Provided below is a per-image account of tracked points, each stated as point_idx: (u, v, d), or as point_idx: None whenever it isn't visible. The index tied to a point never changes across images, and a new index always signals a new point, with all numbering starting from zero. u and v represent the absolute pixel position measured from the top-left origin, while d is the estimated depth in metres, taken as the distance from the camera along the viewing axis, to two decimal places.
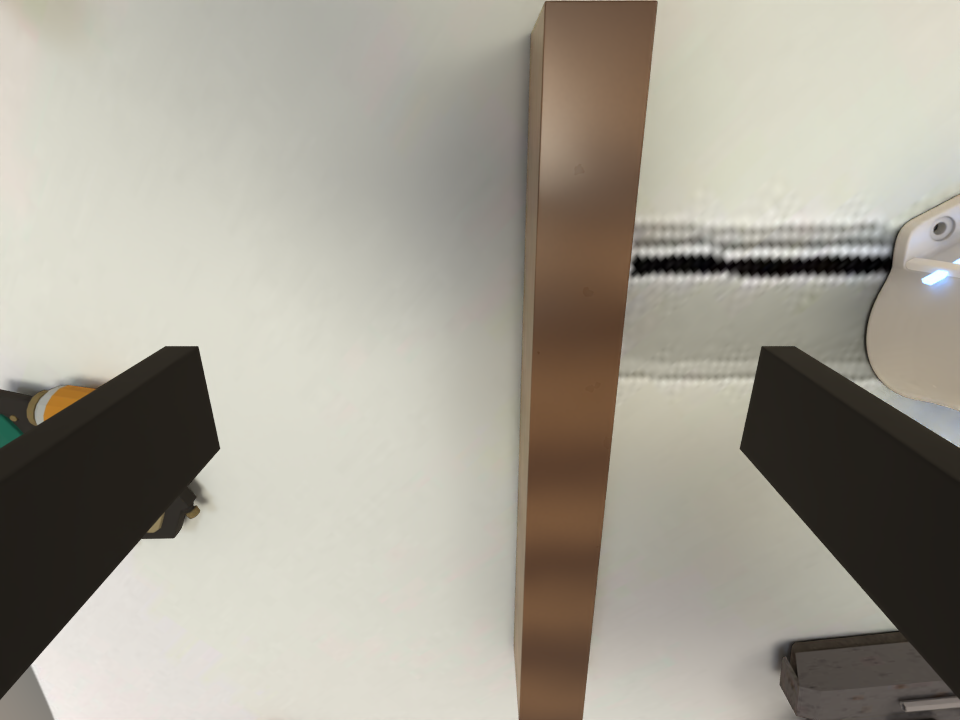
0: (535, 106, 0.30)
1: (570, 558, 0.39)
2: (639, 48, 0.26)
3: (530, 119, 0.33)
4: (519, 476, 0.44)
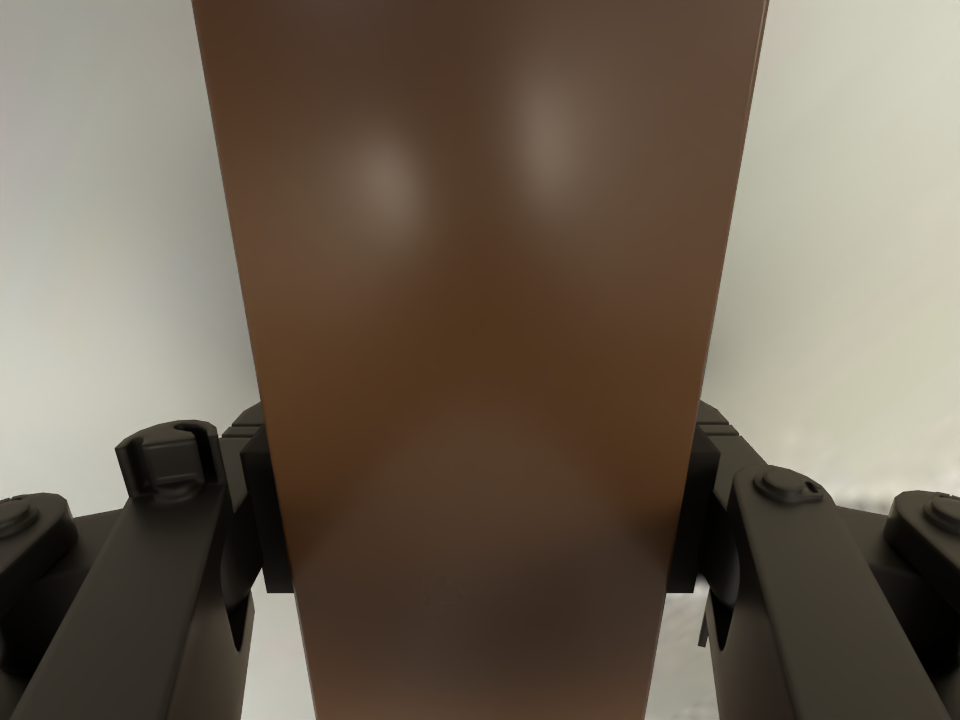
0: None
1: None
2: (675, 177, 0.06)
3: None
4: None
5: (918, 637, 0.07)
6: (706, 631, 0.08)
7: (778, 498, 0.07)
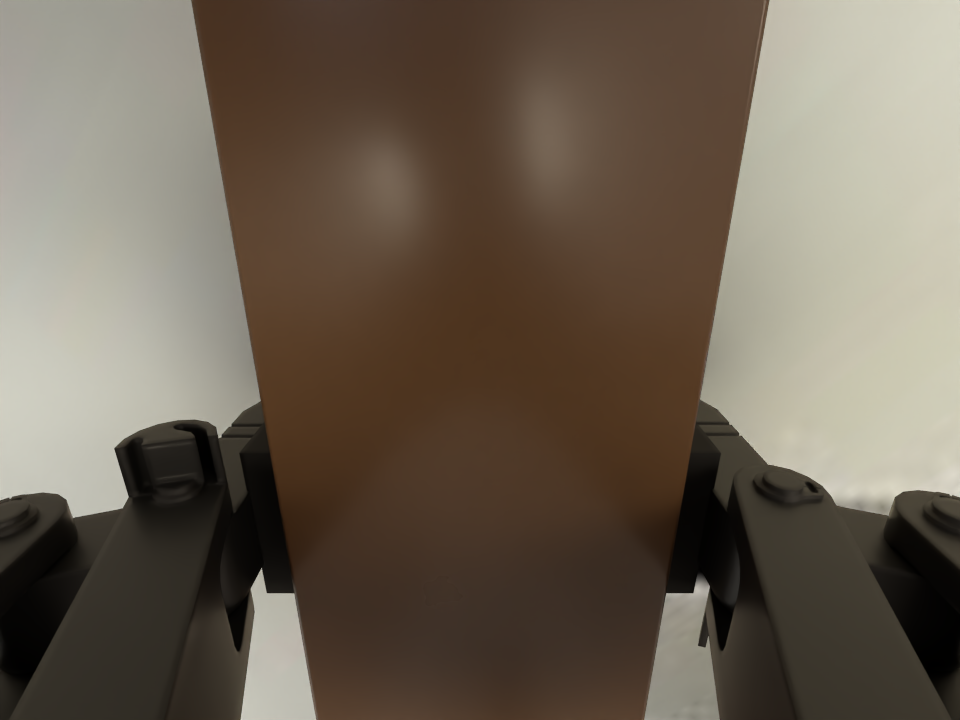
0: None
1: None
2: (675, 177, 0.06)
3: None
4: None
5: (918, 637, 0.07)
6: (706, 631, 0.08)
7: (778, 498, 0.07)
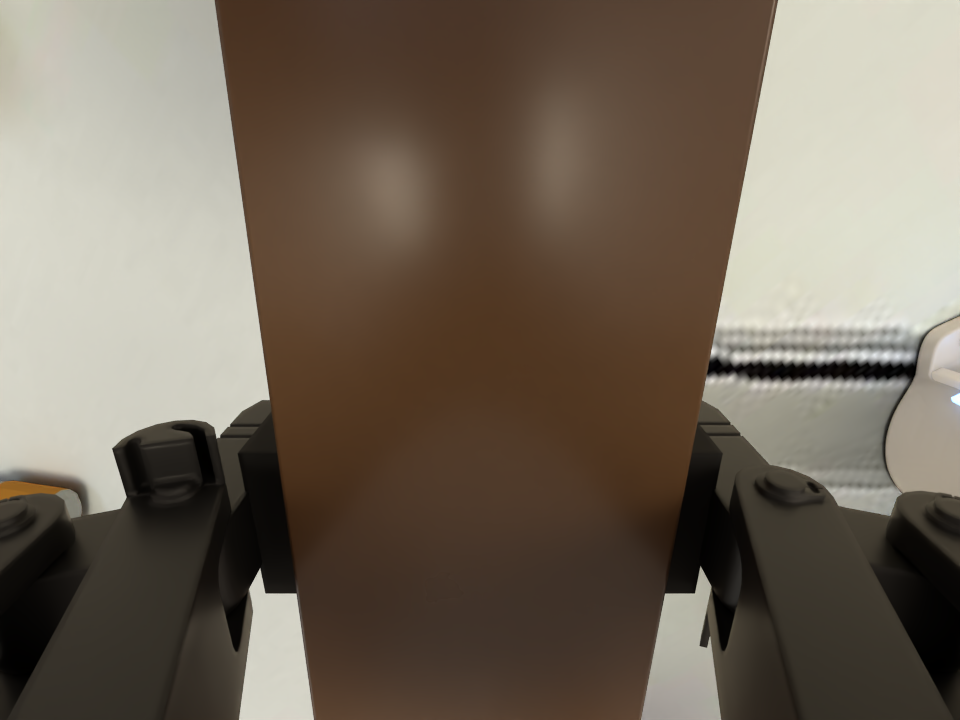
0: None
1: None
2: (681, 181, 0.06)
3: None
4: None
5: (920, 638, 0.07)
6: (708, 631, 0.08)
7: (779, 497, 0.07)
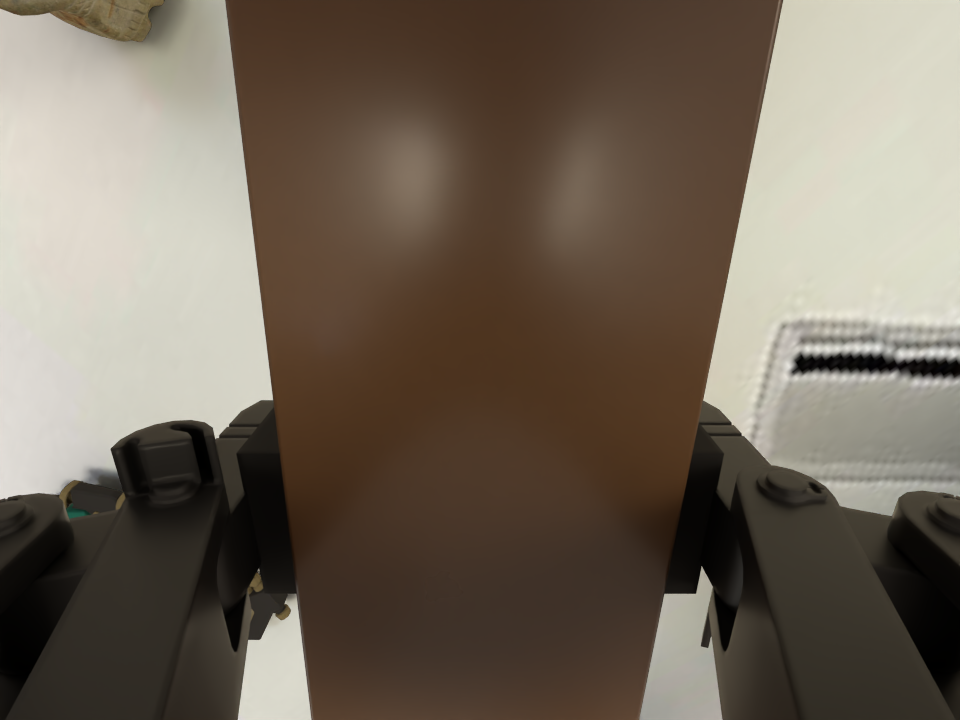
0: None
1: None
2: (685, 183, 0.06)
3: None
4: None
5: (922, 638, 0.06)
6: (709, 632, 0.08)
7: (781, 498, 0.07)
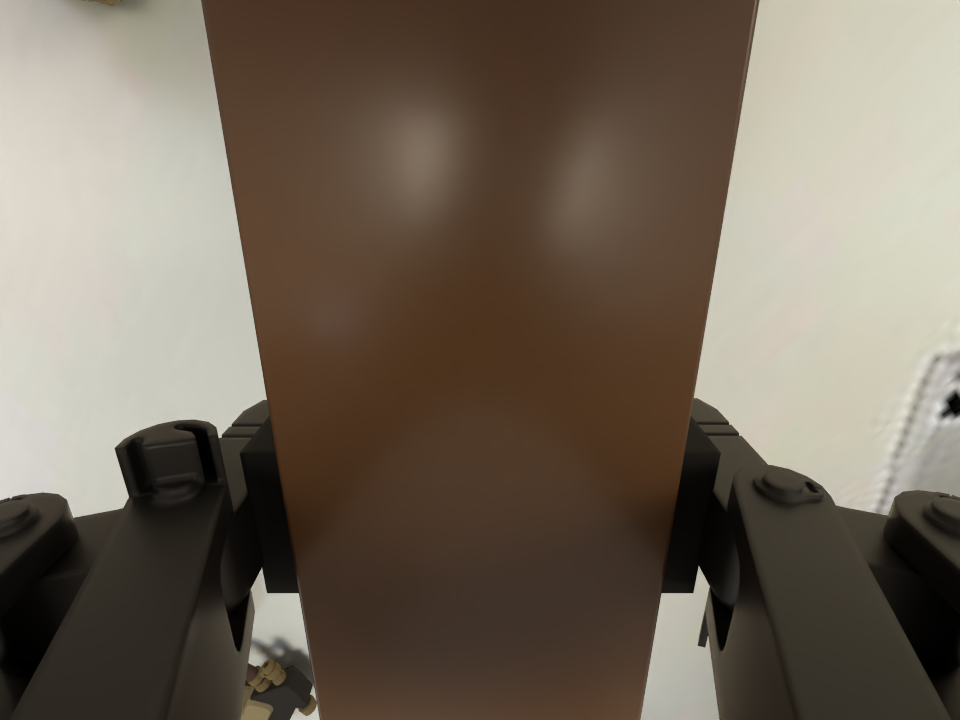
0: None
1: None
2: (668, 181, 0.06)
3: None
4: None
5: (918, 637, 0.07)
6: (706, 631, 0.08)
7: (777, 498, 0.07)
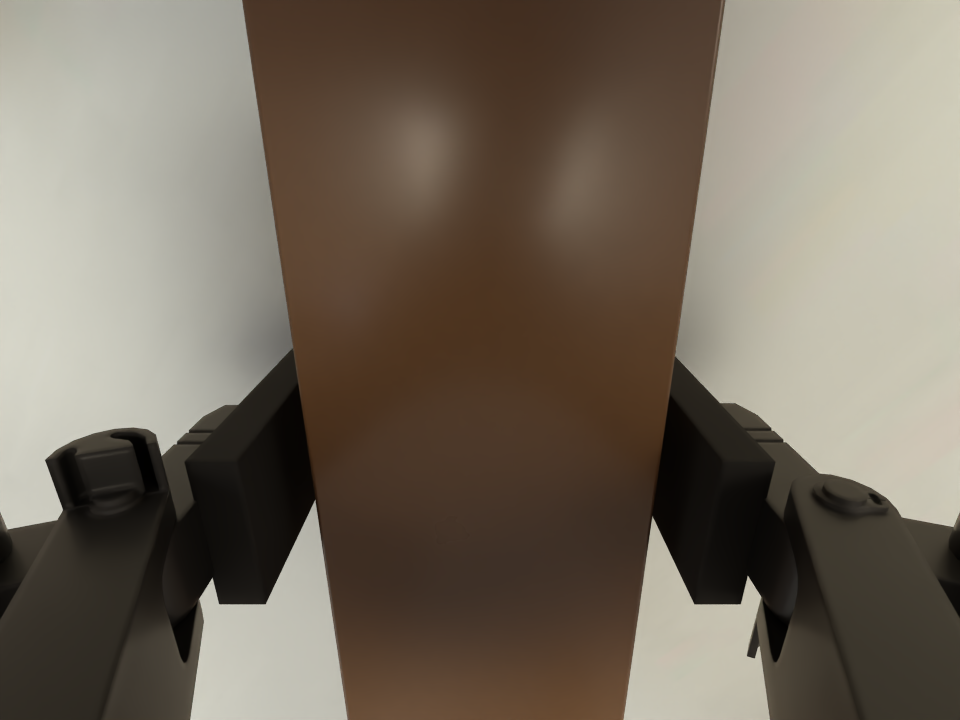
0: None
1: None
2: (649, 158, 0.07)
3: None
4: None
5: None
6: (756, 642, 0.08)
7: (839, 509, 0.07)
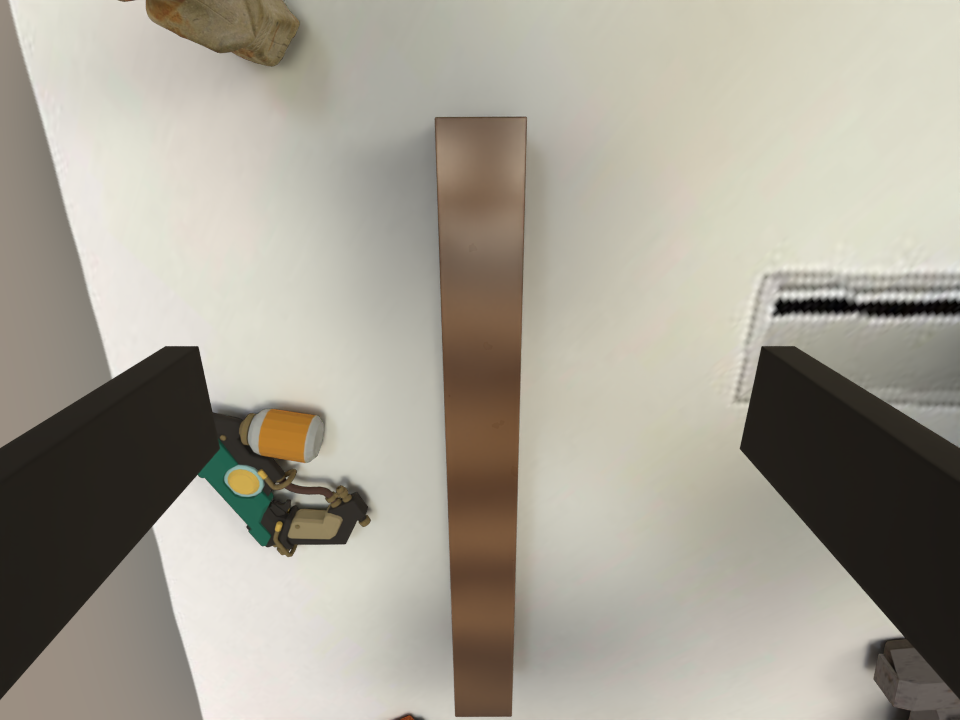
0: None
1: (489, 570, 0.44)
2: (514, 153, 0.32)
3: None
4: None
5: None
6: None
7: None
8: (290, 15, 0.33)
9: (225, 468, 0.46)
